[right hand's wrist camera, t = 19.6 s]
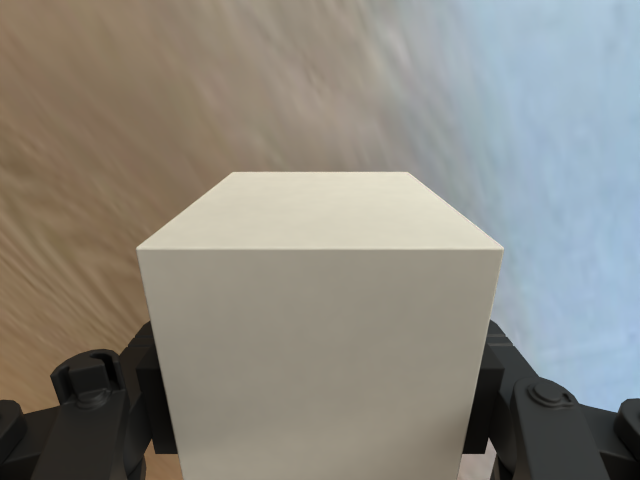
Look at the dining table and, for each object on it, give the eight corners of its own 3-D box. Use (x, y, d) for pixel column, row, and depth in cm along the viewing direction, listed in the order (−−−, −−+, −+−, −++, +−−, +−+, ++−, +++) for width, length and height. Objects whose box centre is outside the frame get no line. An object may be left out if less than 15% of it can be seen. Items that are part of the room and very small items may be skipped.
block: (232, 171, 14) (133, 247, 6) (408, 171, 14) (506, 247, 6) (249, 356, 17) (196, 544, 10) (391, 357, 17) (444, 545, 10)
